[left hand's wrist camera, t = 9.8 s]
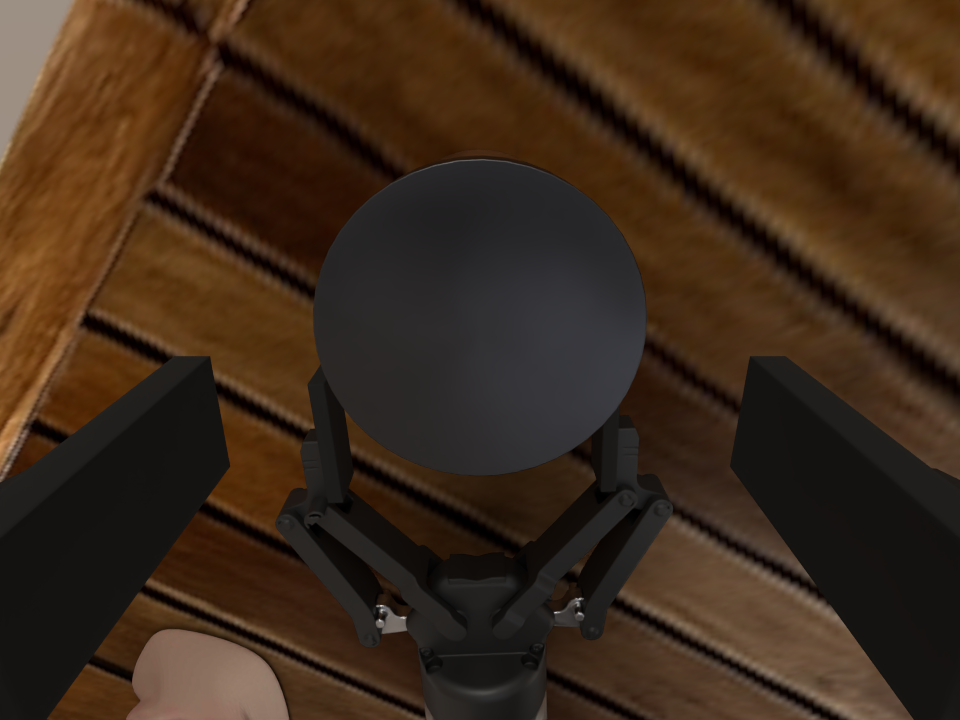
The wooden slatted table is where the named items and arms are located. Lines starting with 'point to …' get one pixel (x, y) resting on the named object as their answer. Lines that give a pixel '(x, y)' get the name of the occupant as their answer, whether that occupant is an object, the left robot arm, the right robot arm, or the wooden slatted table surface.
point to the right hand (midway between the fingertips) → (464, 365)
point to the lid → (480, 316)
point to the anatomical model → (203, 680)
